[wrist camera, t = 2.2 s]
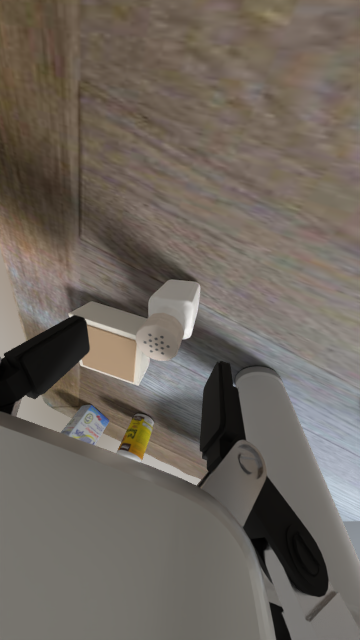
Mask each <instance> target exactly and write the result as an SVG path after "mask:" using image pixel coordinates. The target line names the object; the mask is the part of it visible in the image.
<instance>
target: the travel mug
mask: <svg viewBox="0 0 360 640" xmlns="http://www.w3.org/2000/svg"><path fill="white" fill-rule="evenodd" d="M235 383H236V388H237V389H238V392H239V398H240V404H241V410H242V417H243V423H244V429H245V435H246V441H248V442H250V443H252V444H253V445H254V446H255V447H256V448H257V449H258V450H259V452H260V453H261V455H262V457H263V459H264V461H265V464H266V468H267V476H268V478H269V479H270V480H271V482H272V483H273V484H274V486H275V487H276V488H277V490H278V491H279V492H280V494H281V495H282V496H283V498H284V499H285V500H286V502H287V503H288V504H289V506H290V507H291V508H292V510H293V511H294V512H295V514H296V515H297V516H298V518H299V519H300V520H301V522H302V523H303V524H304V526H305V527H306V528H307V530H308V531H309V532H310V534H311V535H312V537H313V538H314V540H315V541H316V543H317V545H318V547H319V549H320V551H321V553H322V555H323V558H324V561H325V564H326V567H327V573H328V578H329V582H330V584H331V585H332V587H333V589H334V591H335V592H339V593H340V595H341V597H342V599H343V601H344V602H345V604H346V606H347V608H348V610H349V611H350V613H351V615H352V617H353V619H354V621H355V622H356V624H357V626H358V628H359V630H360V561H359V559H358V557H357V554H356V552H355V550H354V548H353V545H352V543H351V540H350V538H349V536H348V534H347V531H346V529H345V527H344V524H343V522H342V519H341V517H340V515H339V513H338V510H337V508H336V506H335V503H334V501H333V499H332V496H331V494H330V492H329V489H328V487H327V485H326V482H325V480H324V478H323V475H322V473H321V471H320V468H319V466H318V464H317V461H316V459H315V457H314V454H313V452H312V450H311V447H310V445H309V443H308V440H307V438H306V436H305V434H304V431H303V429H302V427H301V424H300V422H299V420H298V417H297V415H296V413H295V410H294V408H293V406H292V403H291V401H290V399H289V396H288V394H287V392H286V389H285V387H284V385H283V382H282V380H281V378H280V376H279V375H278V374H277V373H276V372H275V371H273V370H272V369H269V368H266V367H260V366H254V367H248V368H245V369H243V370H241V371H240V372H239V373H238V374H237V376H236V378H235ZM260 567H261V566H260ZM261 571H262V574H263V578H264V582H265V587H266V591H267V595H268V600H269V605H270V610H271V615H272V620H273V625H274V631H275V637H276V640H292V639H291V636H290V633H289V630H288V628H287V625H286V622H285V620H284V617H283V614H282V612H283V611H284V610H283V608H282V605H281V603H280V600H279V597H278V595H277V592H276V590H275V587H274V585H273V584H272V583H271V582H270V581H269V579H268V578H267V576H266V575H265V573H264V572H263V570H262V568H261Z"/></svg>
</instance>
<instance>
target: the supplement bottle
mask: <svg viewBox="0 0 360 640" xmlns="http://www.w3.org/2000/svg"><path fill="white" fill-rule="evenodd" d="M153 426H154V421H153V420H152V419H151V418H150V417H149V416H147V415H145V414H136V415H134V417H133V419H132V421H131V423H130V425H129V427H128V429H127V431H126V434H125V436H124V438H123V440H122V442H121V444H120V446H119V448H118V451H117V453H116V454H119V455H122V456H124V457H127V458H130V459H132V460H135V461H138V462H140V463H141V462H142V459H143V456H144V453H145V450H146V447H147V444H148V441H149V438H150V435H151V432H152V429H153Z"/></svg>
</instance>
